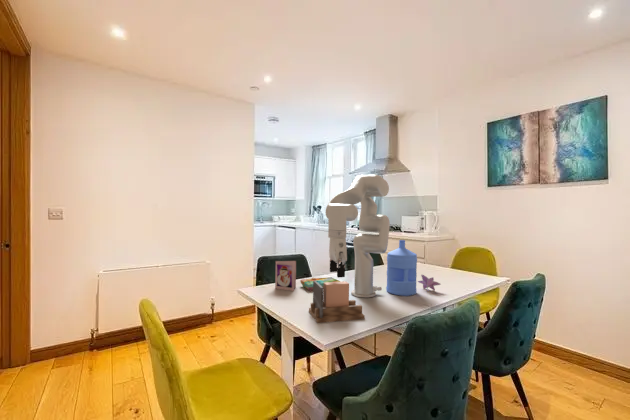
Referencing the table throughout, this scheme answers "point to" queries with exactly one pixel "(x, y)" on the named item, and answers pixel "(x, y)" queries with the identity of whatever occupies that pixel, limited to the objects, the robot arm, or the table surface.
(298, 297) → the table surface
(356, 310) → the book rack
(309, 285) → the puzzle game
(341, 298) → the book
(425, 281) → the lily
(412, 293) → the water jug
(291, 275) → the greeting card
